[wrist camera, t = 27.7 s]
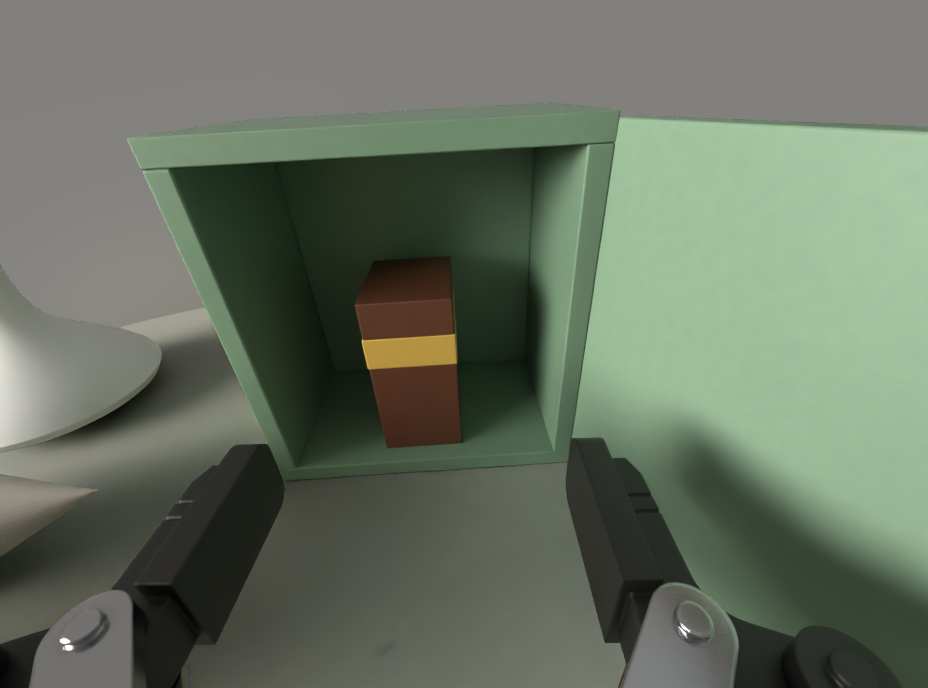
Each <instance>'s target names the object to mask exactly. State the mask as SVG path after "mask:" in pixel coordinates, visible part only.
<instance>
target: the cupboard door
mask: <svg viewBox="0 0 928 688" xmlns="http://www.w3.org/2000/svg"><path fill="white" fill-rule="evenodd" d="M593 437H601V438H603V439H604V441H605V443H606V445H607V447H608V450H609V452H610V454H611V457H612V458H626V459H627V460H628V461H629V462H630V463H631V464H632V465H633V466H634V467H635V468H636V469H637V470H638V471H639V472H640V473H641V474H642V475H643V478H644V480H645V482H646V484H647V486H648V488H649V490H650V492H651V496H652V497H653V498H654V500H655V502H656V504H657V506H658V508H659V513H661V514H662V516H663V518H664V520H665V522H666V524H667V526H668V528H669V530H670V532H671V534H672V536H673V539H674V541H675V543H676V545H677V547H678V549H679V551H680V553H681V555H682V557H683V559H684V561H685V563H686V565H687V567H688V569H689V571H690V573H691V575H692V577H693V579H694V580H695V582H696V584H697V585H698V586H699V588H700V589H701V590H702V591H703V592H705V593H706V594H708V595H709V596H710V597H711V598H713V599H714V600H715V601H716V602H717V603H718V604H719V605H720V606H721V607H722V608H723V609H724V611H726V612H727V613H729V614H730V615H732V616H734V617H736V618H738V619H741V620H744V621H746V622H749V623H752V624H755V625H758V626H762V627H765V628H768V629H771V630H774V631H777V632H780V633H784V634H787V635H790V636H793V637H795V636H796V635H797V634H798V632H799V631H800V630H802V629H803V628H805V627H808V626H825V627H829V628H832V629H835V630H838V631H840V632H843V633H845V634H846V635H848V636H850V637H852V638H854V639H855V640H857V641H858V642H860V643H862V644H863V645H864V646H866V647H867V648H868V649H869V650H871V651H872V652H873V653H874V654H875V655H876V656H878V657H879V658H880V659H881V660H882V661H883V662H884V663H885V664H886V665H887V667H888V668H889V669H890V670H891V671H892V672H893V674H894V675H895V676H896V678H897V679H898V680H899V682H900V683H901V684H902V686H903V687H904V688H928V127H920V126H919V127H918V126H895V125H869V124H868V125H867V124H844V123H817V122H792V121H765V120H741V119H716V118H715V119H714V118H690V117H665V116H664V117H663V116H629V117H622V118H620V119H619V123H618V130H617V137H616V143H615V150H614V157H613V164H612V170H611V177H610V184H609V191H608V198H607V204H606V211H605V218H604V225H603V231H602V238H601V245H600V252H599V258H598V265H597V272H596V279H595V286H594V292H593V299H592V306H591V313H590V319H589V326H588V333H587V340H586V346H585V353H584V360H583V367H582V374H581V380H580V387H579V394H578V401H577V407H576V414H575V421H574V428H573V434H572V438H593Z"/></svg>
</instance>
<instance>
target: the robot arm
mask: <svg viewBox="0 0 928 688" xmlns="http://www.w3.org/2000/svg"><path fill="white" fill-rule="evenodd" d="M284 494H285V487H284V482H283V479H282V477H281V474H280V471H279V469H278V466H277V464H276V461H275V459H274V456H273V454H272V451H271V449H270V447H269V446H268V445H267V444H242V445H235V446H233V447H232V448H231V449H230V450H229V452H228V453H227V454H226V456H225V457H224V459H223V460H222V461H221V463H220V464H219V465H216V466H212V467H210V468H209V469H208V470H207V471H206V472H204V473H203V474H202V475H201V476H199V477H198V478H197V479H196V480H194V481H193V482H192V484H191V485H190V486H189V488H188V489H187V490H186V492H185V493H184V494H183V495H182V497H181V498H180V499H179V503H178V504H176V505H175V506H174V507H173V509H172V510H171V511H170V513H169V514H168V515H167V519H166V521H163V522H162V523H161V525H160V526H159V527H158V529H157V530H156V531H155V532H154V534H153V535H152V536H151V538H150V539H149V540H148V542H147V543H146V544H145V546H144V547H143V548H142V550H141V551H140V552H139V554H138V555H137V556H136V558H135V559H134V560H133V562H132V563H131V564H130V566H129V567H128V568H127V569H126V571H125V572H124V573H123V575H122V576H121V577H120V579H119V580H118V581H117V583H116V584H115V585H114V586H113V587H112V589H111V590H110V591H105V592H102V593H99V594H96V595H94V596H92V597H90V598H88V599H86V600H84V601H82V602H81V603H79V604H78V605H76V606H75V607H73V608H72V609H71V610H69V611H68V612H67V613H66V614H64V615H63V616H62V617H61V618H60V619H59V620H58V621H57V622H56V623H55V624H54V625H53V626H52V627H51V628H49V629H46V630H43V631H40V632H37V633H34V634H31V635H27V636H24V637H21V638H18V639H15V640H12V641H9V642H6V643H3V644H0V688H191V682H190V672H189V666H188V663H187V661H186V660H187V658H188V656H189V654H190V652H191V650H192V648H193V646H194V645H210V644H216V642H217V640H218V638H219V636H220V634H221V632H222V630H223V628H224V626H225V624H226V621H227V619H228V617H229V615H230V613H231V611H232V609H233V607H234V605H235V603H236V601H237V599H238V596H239V594H240V592H241V590H242V588H243V586H244V584H245V582H246V580H247V578H248V576H249V573H250V571H251V569H252V567H253V565H254V563H255V561H256V559H257V557H258V555H259V553H260V551H261V548H262V546H263V544H264V542H265V540H266V538H267V536H268V534H269V532H270V530H271V528H272V526H273V523H274V521H275V519H276V517H277V515H278V513H279V511H280V509H281V507H282V504H283V500H284ZM566 494H567V500H568V504H569V508H570V512H571V516H572V520H573V523H574V527H575V531H576V535H577V539H578V542H579V546H580V550H581V554H582V558H583V561H584V565H585V569H586V573H587V577H588V580H589V584H590V588H591V592H592V596H593V599H594V603H595V607H596V611H597V615H598V619H599V622H600V626H601V630H602V634H603V638H604V641H605V643H620V644H621V647H622V651H623V654H624V657H625V661H626V666H625V668H624V671H623V674H622V677H621V680H620V683H619V686H618V688H904V687H903V686H902V684H901V683H900V682H899V680H898V679H897V678H896V676H895V675H894V674H893V672H892V671H891V670H890V669H889V668H888V667H887V665H886V664H885V663H884V662H883V661H882V660H881V659H880V658H879V657H878V656H876V655H875V654H874V653H873V652H872V651H871V650H869V649H868V648H867V647H866V646H864V645H863V644H862V643H860V642H858V641H857V640H855V639H854V638H852V637H850V636H848V635H846V634H845V633H843V632H840V631H838V630H835V629H832V628H829V627H825V626H808V627H805V628H803V629H802V630H800V631H799V632H798V634H797V635H796V636H795V637H793V636H790V635H787V634H784V633H780V632H777V631H774V630H771V629H768V628H765V627H762V626H758V625H755V624H752V623H749V622H746V621H744V620H741V619H738V618H736V617H734V616H732V615H730V614H729V613H727V612H726V611H724V609H723V608H722V607H721V606H720V605H719V604H718V603H717V602H716V601H715V600H714V599H713V598H711V597H710V596H709V595H708V594H706V593H705V592H703V591H702V590H701V589H700V588H699V586H698V585H697V584H696V582H695V580H694V579H693V577H692V575H691V573H690V571H689V569H688V567H687V565H686V563H685V561H684V559H683V557H682V555H681V553H680V551H679V549H678V547H677V545H676V543H675V541H674V539H673V536H672V534H671V532H670V530H669V528H668V526H667V524H666V522H665V520H664V518H663V516H662V514H661V513H659V508H658V506H657V504H656V502H655V500H654V498H653V497H652V496H651V492H650V490H649V488H648V486H647V484H646V482H645V480H644V478H643V475H642V474H641V473H640V472H639V471H638V470H637V469H636V468H635V467H634V466H633V465H632V464H631V463H630V462H629V461H628V460H627V459H626V458H612V457H611V454H610V452H609V450H608V447H607V445H606V443H605V441H604V439H603V438H601V437H593V438H572V440H571V444H570V451H569V458H568V466H567V473H566Z"/></svg>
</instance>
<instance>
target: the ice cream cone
mask: <svg viewBox="0 0 928 688" xmlns="http://www.w3.org/2000/svg"><path fill="white" fill-rule="evenodd" d="M96 491H97V490H96V489H89V488H83V487H77V486H71V485H64V484H58V483H52V482H46V481H39V480H33V479H27V478H20V477H14V476H8V475H2V474H0V557H1V556H3V555H4V554H5V553H7V552H8V551H10V550H11V549H13V548H14V547H16V546H17V545H19V544H20V543H21V542H23V541H24V540H26V539H27V538H29V537H30V536H32V535H33V534H35V533H36V532H37V531H39V530H40V529H42V528H43V527H45V526H46V525H48V524H49V523H51V522H52V521H54V520H55V519H56V518H58V517H59V516H61V515H62V514H64V513H65V512H67V511H68V510H70V509H71V508H72V507H74V506H75V505H77V504H78V503H80V502H81V501H83V500H84V499H86V498H87V497H88V496H90V495H91V494H93V493H94V492H96Z"/></svg>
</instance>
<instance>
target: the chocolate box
mask: <svg viewBox="0 0 928 688" xmlns="http://www.w3.org/2000/svg"><path fill="white" fill-rule="evenodd" d="M355 308H356V312H357V317H358V321H359V326H360V330H361V335H362V345H363V350H364V354H365V359H366V363H367V367H368V369H369V370H370V375H371V379H372V384H373V388H374V393H375V397H376V402H377V406H378V411H379V415H380V419H381V424H382V428H383V433H384V437H385V442H386V446H387V448H400V447H415V446H430V445H445V444H459V443H462V425H461V407H460V388H459V373H458V354H457V336H456V317H455V301H454V288H453V285H452V271H451V257H450V256H444V257H427V258H411V259H395V260H378V261H373V263H372V265H371V268H370V270H369V273H368V275H367V277H366V280H365V282H364V285H363V287H362V289H361V292H360V294H359V297H358V299H357V302H356V304H355Z"/></svg>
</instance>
